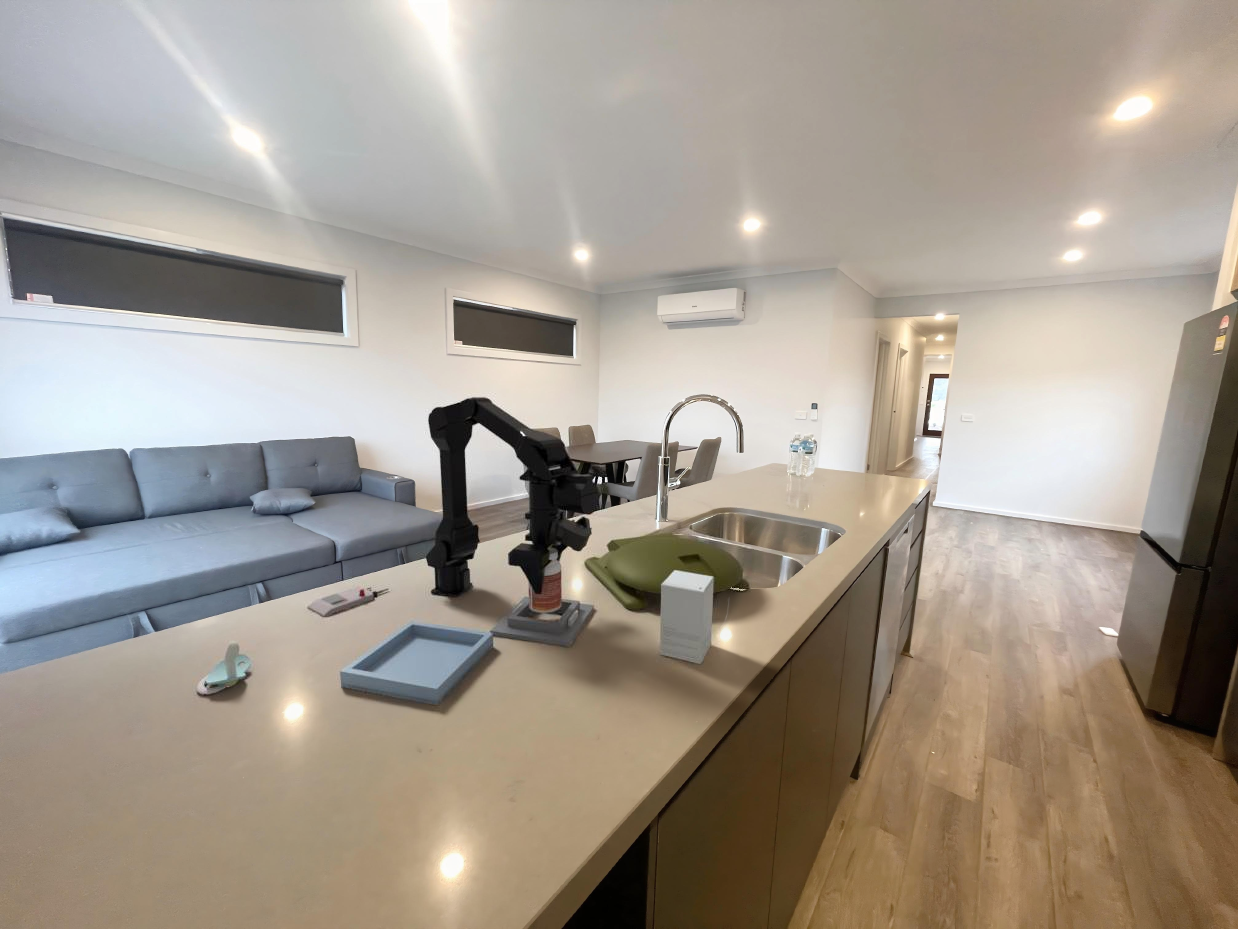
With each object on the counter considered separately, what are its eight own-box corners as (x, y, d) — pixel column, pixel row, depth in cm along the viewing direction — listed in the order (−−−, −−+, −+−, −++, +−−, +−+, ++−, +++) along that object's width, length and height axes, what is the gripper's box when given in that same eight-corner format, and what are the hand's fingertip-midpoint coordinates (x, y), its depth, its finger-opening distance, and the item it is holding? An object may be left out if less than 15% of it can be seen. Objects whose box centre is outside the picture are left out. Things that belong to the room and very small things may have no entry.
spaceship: (581, 565, 122) (581, 528, 121) (686, 551, 134) (687, 517, 133) (641, 629, 91) (643, 579, 89) (771, 603, 103) (775, 559, 101)
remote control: (297, 614, 94) (295, 599, 94) (375, 587, 107) (374, 574, 107) (313, 623, 91) (312, 608, 90) (392, 595, 103) (391, 581, 103)
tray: (341, 686, 71) (339, 671, 70) (411, 634, 86) (411, 621, 86) (437, 705, 67) (436, 688, 67) (493, 646, 83) (493, 633, 82)
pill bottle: (568, 607, 91) (568, 551, 90) (541, 617, 87) (540, 559, 85) (549, 597, 96) (548, 543, 94) (522, 606, 92) (521, 550, 90)
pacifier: (190, 703, 67) (244, 690, 70) (183, 662, 66) (237, 651, 69) (205, 675, 73) (254, 664, 76) (199, 637, 72) (248, 628, 75)
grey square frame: (490, 634, 86) (489, 622, 86) (525, 600, 101) (525, 589, 101) (569, 646, 83) (569, 633, 83) (594, 608, 97) (594, 597, 97)
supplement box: (712, 644, 85) (715, 576, 83) (700, 666, 78) (704, 592, 76) (672, 635, 88) (674, 568, 86) (657, 654, 81) (660, 583, 79)
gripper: (569, 523, 78) (568, 614, 80) (600, 498, 96) (599, 573, 98) (505, 517, 80) (507, 606, 83) (548, 494, 98) (548, 567, 101)
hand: (545, 586), depth 91 cm, fingers closed on pill bottle, 6 cm apart
